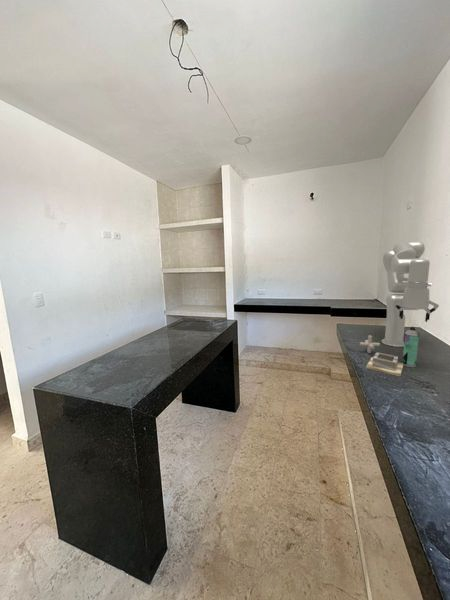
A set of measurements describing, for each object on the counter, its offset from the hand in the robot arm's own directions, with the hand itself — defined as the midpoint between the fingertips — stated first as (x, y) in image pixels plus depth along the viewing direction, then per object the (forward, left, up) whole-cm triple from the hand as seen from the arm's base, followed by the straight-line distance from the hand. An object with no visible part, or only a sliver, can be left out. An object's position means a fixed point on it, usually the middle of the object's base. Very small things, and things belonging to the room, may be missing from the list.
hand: (413, 319), depth 120 cm
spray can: (0, 0, -24) cm, 24 cm away
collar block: (+10, -9, -24) cm, 27 cm away
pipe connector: (-6, -19, -24) cm, 31 cm away
